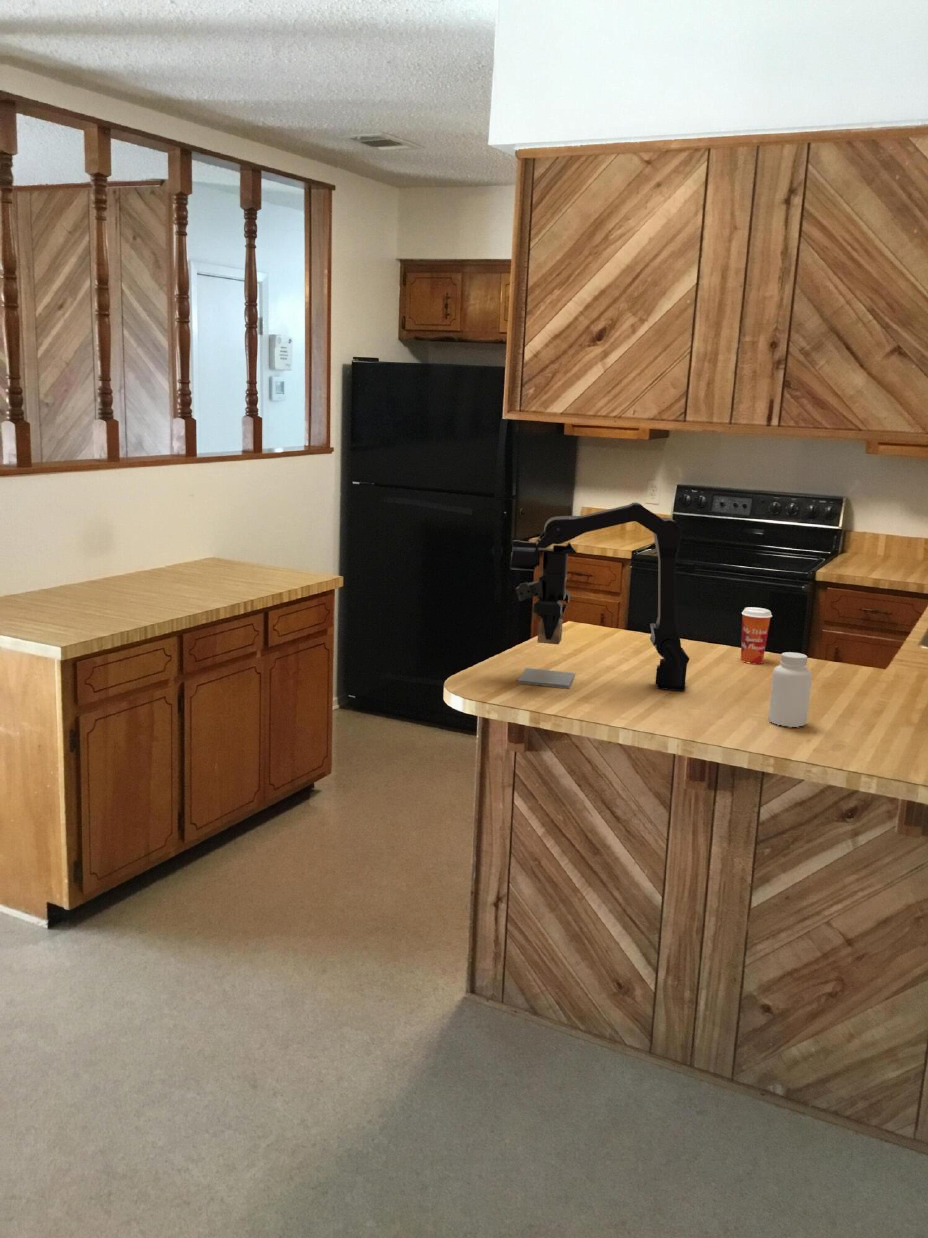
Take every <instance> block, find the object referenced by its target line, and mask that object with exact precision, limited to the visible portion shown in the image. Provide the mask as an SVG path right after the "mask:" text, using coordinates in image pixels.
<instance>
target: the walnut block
mask: <svg viewBox="0 0 928 1238" xmlns="http://www.w3.org/2000/svg"><path fill="white" fill-rule="evenodd" d="M563 621H564V619H562V618H561V619H560V620H559V622H558V624H557V626H556V629H555V631H554V633H553V635H552V638H551V639H550V640H547V639H546V636H545V631H544V625H543V620H542V618H541V617H540V619H539V621H538V625H537V626H538V628H537V629H538V630H537V643H538V644H540V643H541V644H549V645H559V644H560V643H561V641H562V636H563Z"/></svg>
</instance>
